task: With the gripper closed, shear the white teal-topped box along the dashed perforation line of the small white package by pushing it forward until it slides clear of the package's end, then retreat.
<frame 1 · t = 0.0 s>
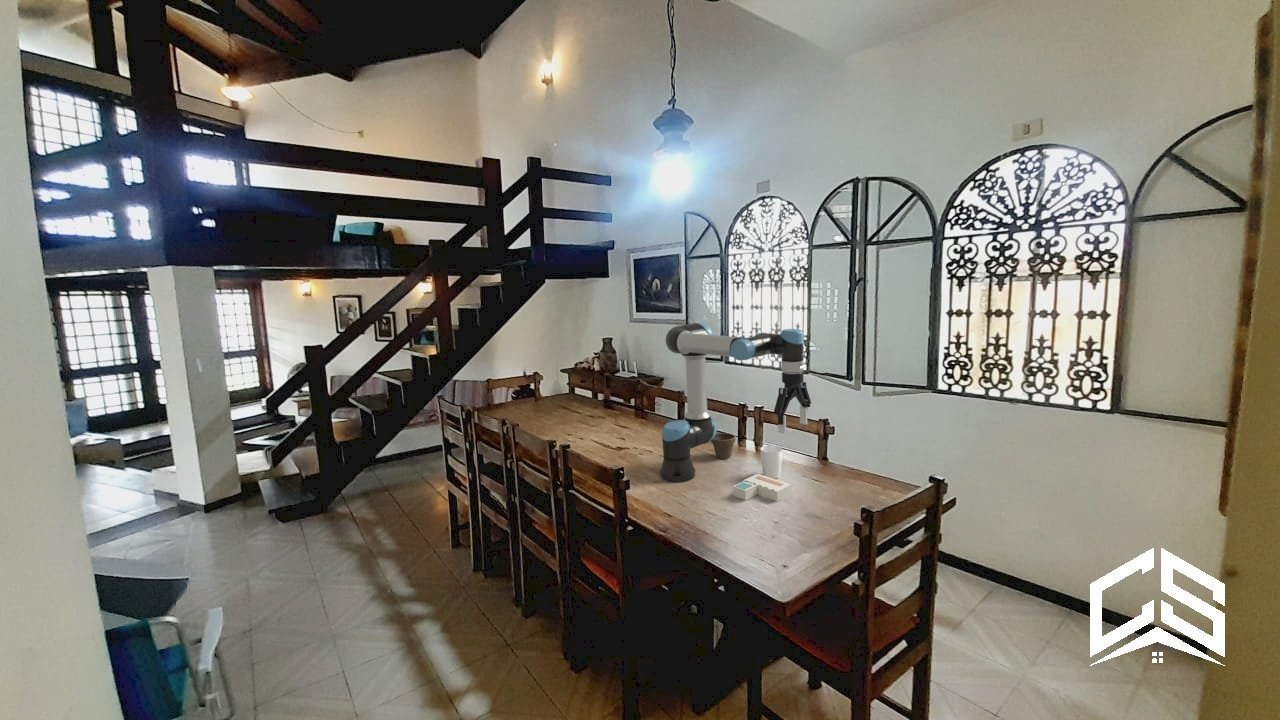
hand: (793, 428, 194), 28 cm above the table, fingers open, 13 cm apart
white teal-topped box: (745, 490, 204), point 2 cm above the table, slide at 0.0 cm
flower pot: (723, 457, 247), on the table
small white package: (767, 491, 206), on the table
cup: (771, 476, 221), on the table
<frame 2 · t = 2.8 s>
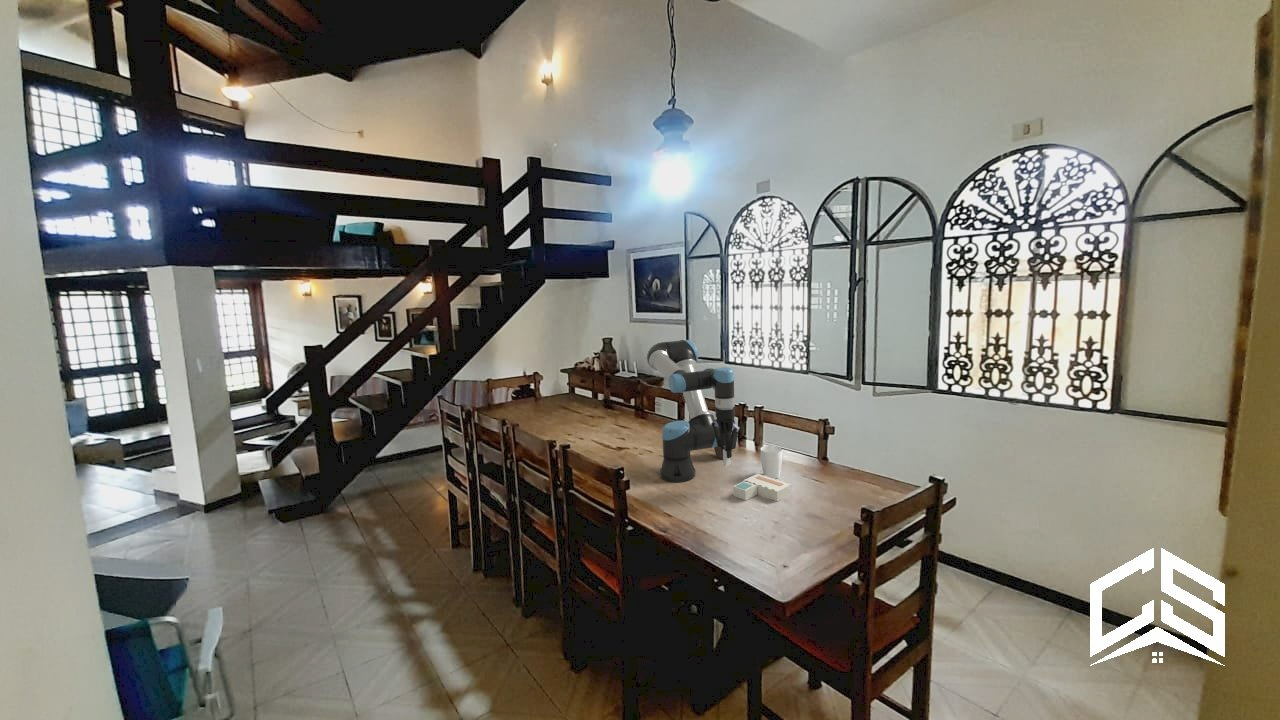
hand: (727, 464, 209), 10 cm above the table, fingers closed
nothing on the table moved.
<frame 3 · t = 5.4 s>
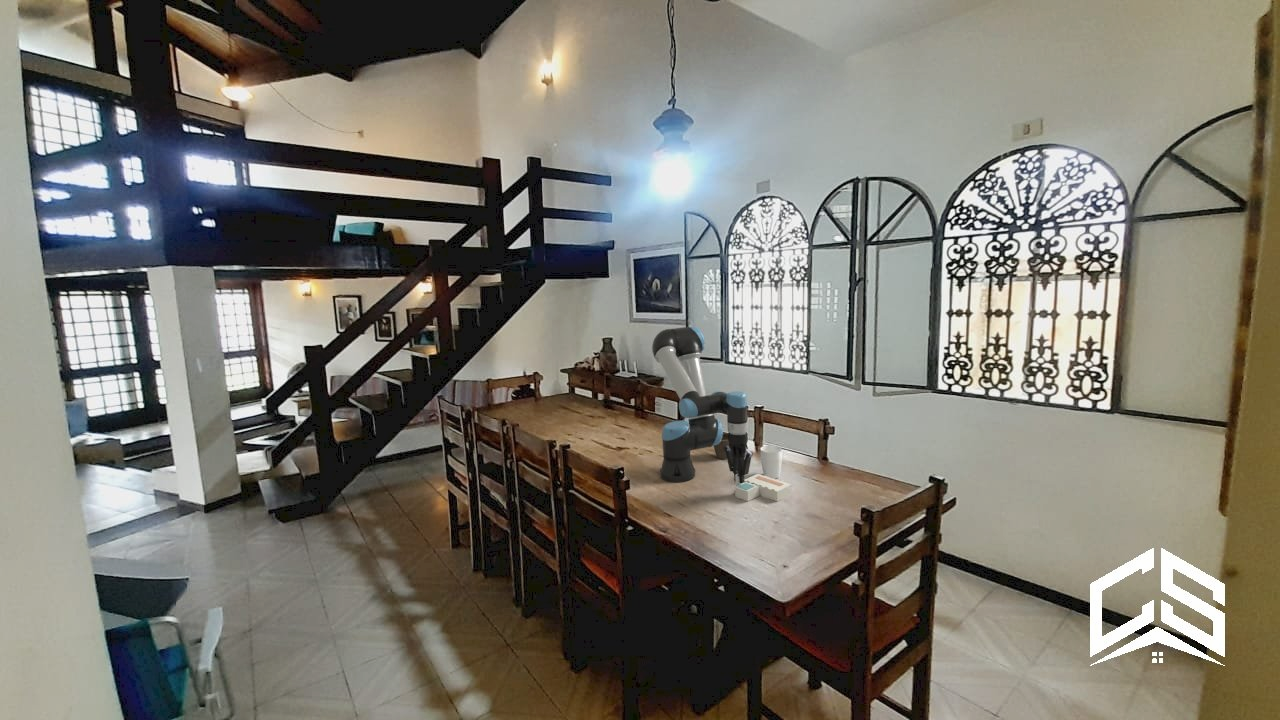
hand: (739, 489, 206), 2 cm above the table, fingers closed
white teal-topped box: (747, 490, 203), point 2 cm above the table, slide at 1.1 cm, touching gripper
everything else where it was.
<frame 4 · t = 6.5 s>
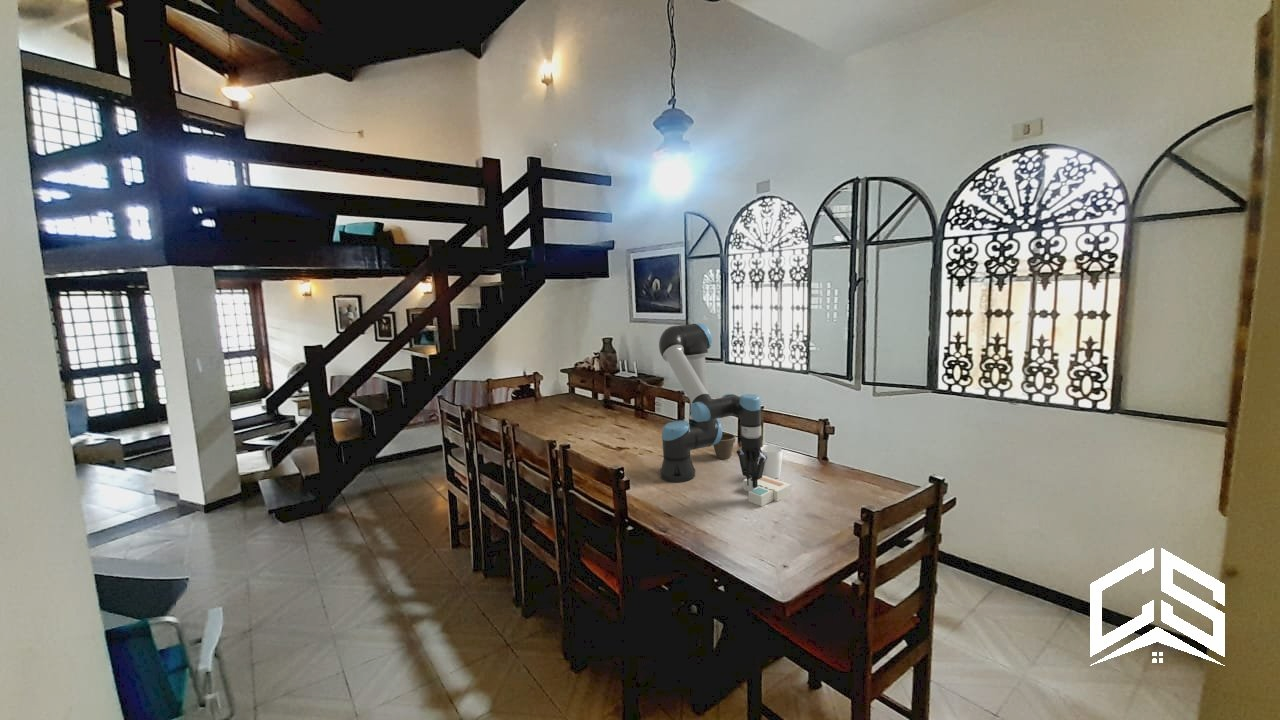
hand: (752, 494, 201), 2 cm above the table, fingers closed
white teal-topped box: (760, 495, 198), point 2 cm above the table, slide at 7.4 cm, touching gripper
everything else where it was.
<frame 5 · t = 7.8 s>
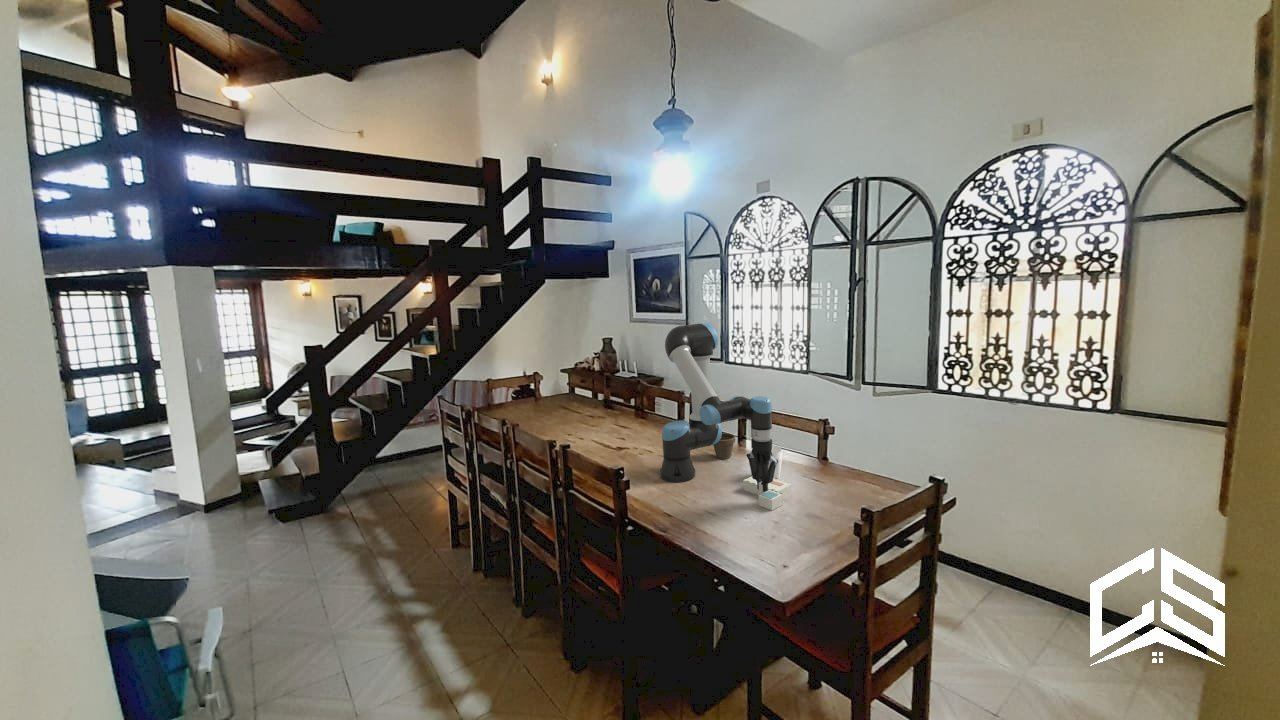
hand: (762, 498, 198), 1 cm above the table, fingers closed
white teal-topped box: (771, 499, 195), point 2 cm above the table, slide at 12.1 cm, touching gripper
everything else where it was.
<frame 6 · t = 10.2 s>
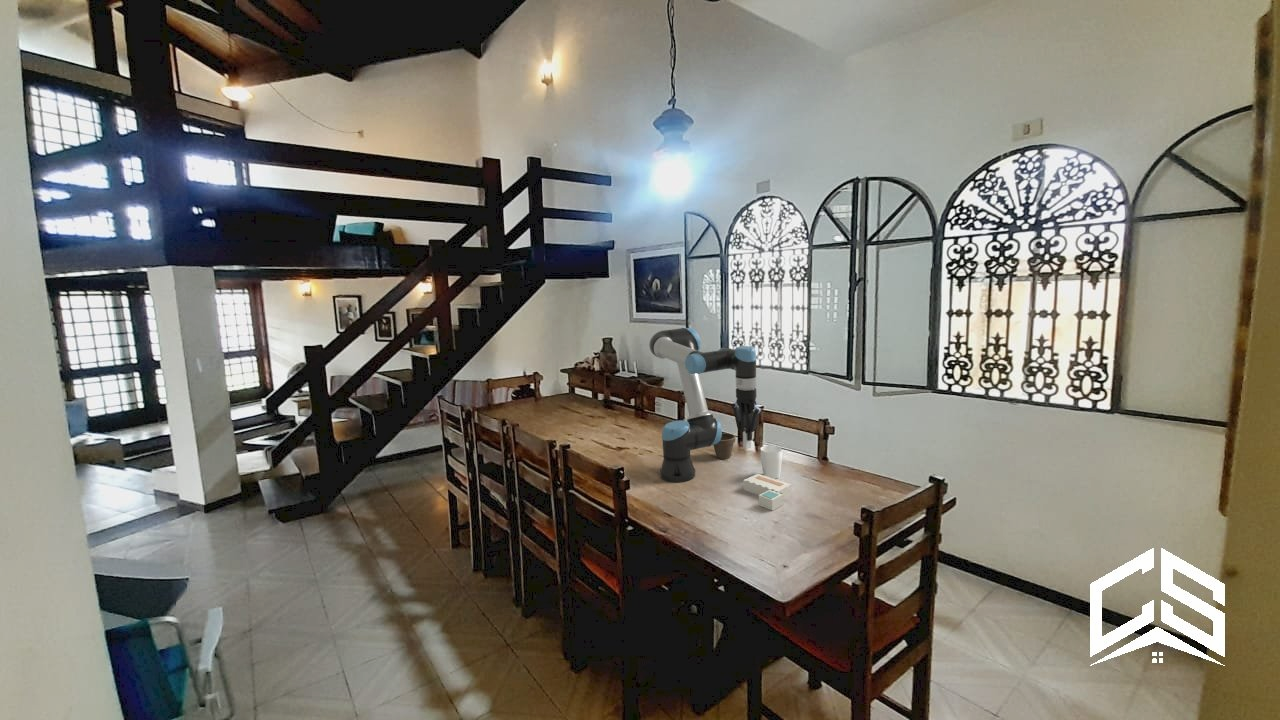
hand: (747, 447, 200), 20 cm above the table, fingers closed
white teal-topped box: (771, 499, 195), point 2 cm above the table, slide at 12.2 cm
everything else where it was.
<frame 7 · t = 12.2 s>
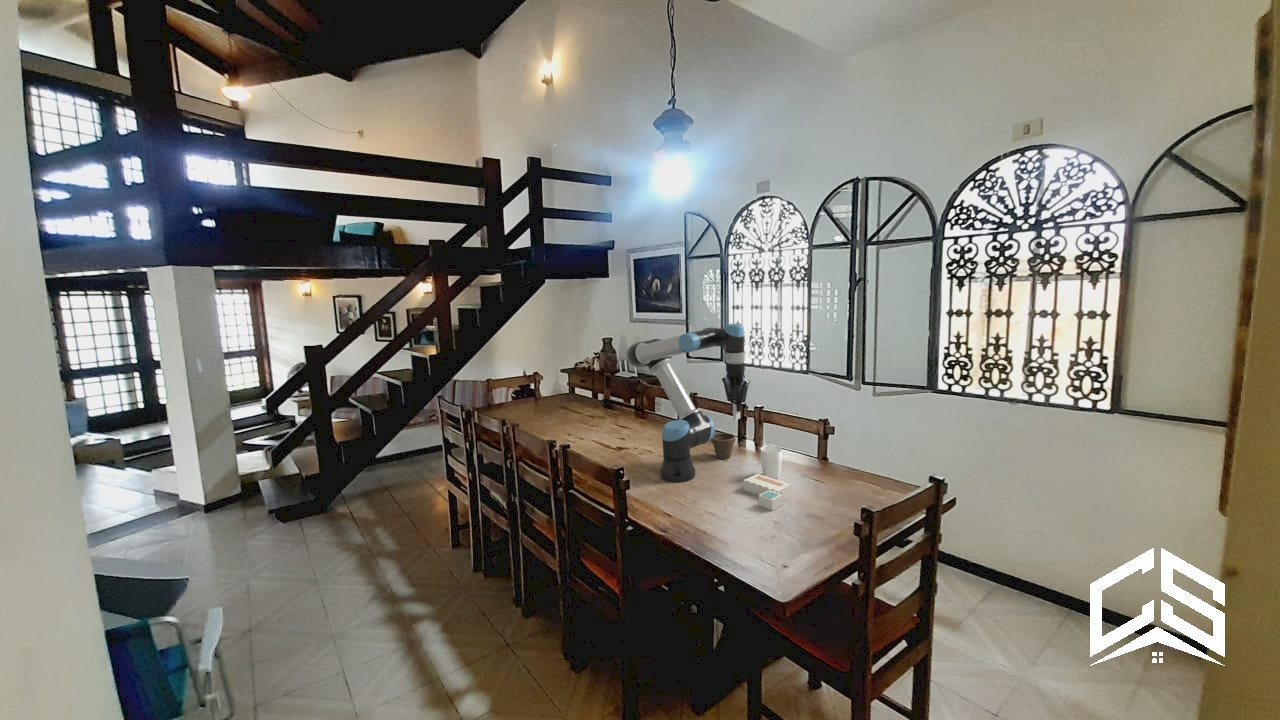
hand: (736, 418, 215), 26 cm above the table, fingers closed
nothing on the table moved.
at the end: white teal-topped box slide at 12.2 cm; the gripper is holding nothing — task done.
